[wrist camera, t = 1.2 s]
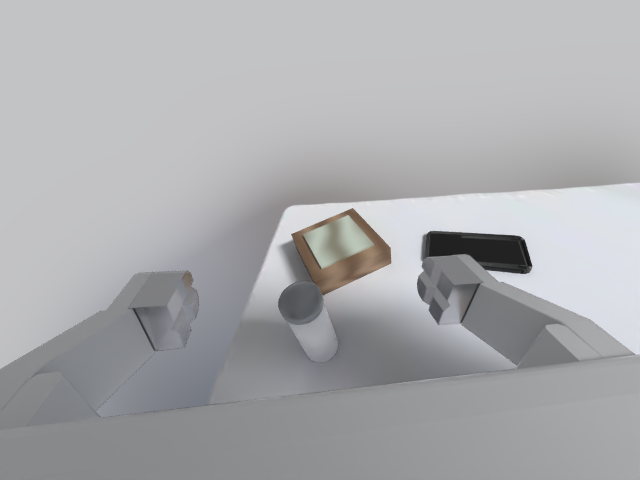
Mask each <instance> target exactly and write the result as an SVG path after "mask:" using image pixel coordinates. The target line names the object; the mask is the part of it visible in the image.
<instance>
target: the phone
mask: <svg viewBox="0 0 640 480" xmlns="http://www.w3.org/2000/svg"><path fill="white" fill-rule="evenodd" d="M461 254H466V255H469V256H471V257H472V258H473V259H474V260H475V261H476V262H477V263H478V264H479V265H481V266H482V267H483V268H484V269H485V270H491V271H501V272H511V273H520V274H527V273H529V272H530V271H531V269H532V263H531V260H530V256H529V253H528V250H527V246H526V243H525V240H524V239H523V238H522V237H520V236H514V235H496V234H478V233H461V232H443V231H430V232H428V234H427V243H426V257H439V256H452V255H461ZM426 257H425V258H426Z"/></svg>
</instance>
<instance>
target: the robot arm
mask: <svg viewBox="0 0 640 480" xmlns="http://www.w3.org/2000/svg"><path fill="white" fill-rule="evenodd" d="M422 268H423V270H424V271H423V272H422V273H421V274H420V275H419V277H418V281H417V289H418V293H419V296H420V297H421V299H422V301H424V302H425V303H427V304H429V305H430V306H429V311H430V313H431V315H432V316H433V318H434V319H435V321H436V322H437V324H438V325H445V324H461V323H462V324H461V325H462V326H464V327H465V328H467V329H468V330H469V331H471V332H472V333H473V334H475V335H476V336H477V337H479V338H480V339H482V340H483V341H484V342H486V343H487V344H488V345H490V346H491V347H492V348H494V349H495V350H497V351H498V352H499V353H501V354H502V355H503V356H505V357H506V358H507V359H509V360H510V361H512V362H513V363H514V364H516V365H517V366H516V367H515V369H511V370H503V371H494V372H486V373H477V374H469V375H460V376H452V377H443V378H435V379H426V380H418V381H409V382H401V383H392V384H384V385H376V386H367V387H358V388H350V389H341V390H333V391H324V392H316V393H307V394H298V395H290V396H281V397H273V398H264V399H255V400H247V401H238V402H230V403H221V404H213V405H204V406H196V407H187V408H178V409H170V410H163V411H154V412H145V413H136V414H127V415H119V416H110V417H103V418H102V417H100V416H99V415H98V414H97V413H96V411H97V410H98V409H99V408H100V406H102V405H103V404H104V403H105V402H106V401H107V400H108V399H109V398H110V397H111V396H112V395H113V394H114V393H115V392H116V391H117V390H118V389H119V388H120V387H121V386H122V385H123V384H124V383H125V382H126V381H127V380H128V379H129V378H130V377H131V376H132V375H133V374H134V373H135V372H136V371H137V370H138V369H139V368H140V367H141V366H142V365H143V364H144V363H145V362H146V361H147V360H148V359H149V358H150V357H151V356H152V355H153V354H154V353H155V351H162V350H171V349H179V348H185V346H186V343H187V340H188V338H189V335H190V332H191V327H190V323H191V322H192V321H193V320H195V319H196V316H197V313H198V307H199V299H198V294H197V291H196V290H195V289H194V288H192V287H191V285H192V282H193V278H192V275H191V273H190V272H189V271H166V272H146V273H137V274H135V275H134V276H133V277H132V278H131V280H130V281H129V282H128V284H127V285H126V286H125V287H124V289H123V290H122V291H121V292H120V294H119V295H118V296H117V298H116V299H115V300H114V301H113V303H112V304H111V305H110V307H109V308H108V309H107V310H106V311H99V312H98V313H96V314H94V315H93V316H91V317H89V318H87V319H86V320H84V321H82V322H81V323H79V324H77V325H75V326H74V327H72V328H70V329H68V330H67V331H65V332H63V333H62V334H60V335H58V336H56V337H55V338H53V339H52V340H50V341H48V342H46V343H45V344H43V345H41V346H40V347H38V348H36V349H34V350H33V351H31V352H29V353H27V354H26V355H24V356H22V357H20V358H19V359H17V360H15V361H13V362H12V363H10V364H8V365H7V366H5V367H3V368H2V369H0V480H640V355H635V354H634V353H633V352H631V351H630V350H629V349H628V348H626V347H625V346H624V345H622V344H621V343H620V342H619V341H617V340H616V339H615V338H613V337H612V336H611V335H609V334H608V333H607V332H606V331H604V330H603V329H602V328H600V327H599V326H598V325H596V324H595V323H594V322H593V321H591V320H590V319H587V318H585V317H583V316H580V315H578V314H576V313H573V312H571V311H569V310H566V309H564V308H562V307H560V306H557V305H555V304H553V303H550V302H548V301H546V300H543V299H541V298H539V297H536V296H534V295H532V294H530V293H527V292H525V291H523V290H520V289H518V288H516V287H513V286H511V285H509V284H506V283H504V282H498V281H497V280H496V279H495V278H494V277H493V276H491V275H490V274H489V273H488V272H487V271H486V270H485V269H484V268H483V267H482V266H481V265H479V264H478V263H477V262H476V261H475V260H474V259H473V258H472V257H471V256H469V255H466V254H461V255H452V256H439V257H426V258H425V259H424V260H423V263H422Z"/></svg>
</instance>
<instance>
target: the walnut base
mask: <svg viewBox="0 0 640 480" xmlns="http://www.w3.org/2000/svg"><path fill="white" fill-rule="evenodd" d="M291 235H292V237H293V240H294V243H295V245H296V248H297V250H298V252H299V254H300V256H301V258H302V260H303V262H304V264H305V266H306V268H307V270H308V272H309V274H310V276H311V278H312V280H313V282H314V284H316V285H317V286H318V287H319V289H320V291H321V293H322V295H325V294H327V293H329V292H331V291H333V290H335V289H337V288H340V287H342V286H344V285H346V284H348V283H350V282H352V281H354V280H357V279H359V278H361V277H363V276H365V275H367V274H369V273H372V272H374V271H376V270H378V269H380V268H382V267H384V266H387V265H389V264H391V248H390V247H389V246H388V245H387V244H386V243H385V241H384V240H383V239H382V238H381V237H380V236H379V235H378V234H377V233H376V232H375V231H374V230H373V229H372V228H371V227H370V226H369V225H368V224H367V223H366V221H365V220H364V219H363V218H362V217H361V216H360V215H359V214H358V213H357V212H356V211H355V210H354V209H353V208H352V209H350V210H347V211H345V212H343V213H340V214H338V215H336V216H333V217H331V218H328V219H326V220H324V221H321V222H319V223H317V224H314V225H312V226H310V227H307V228H305V229H303V230H300V231H298V232H295V233H293V234H291Z"/></svg>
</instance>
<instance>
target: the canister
mask: <svg viewBox="0 0 640 480" xmlns="http://www.w3.org/2000/svg"><path fill="white" fill-rule="evenodd" d="M278 307H279V310H280V312H281V314H282V316H283V317H284V319H285V320H286V321H287V322H288V324H289V326H290V327H291V329H292V331H293V332H294V334H295V336H296V337H297V339H298V341H299V343H300V344H301V346H302V348H303V349H304V351H305V353H306V354H307V356H308V357H309V359H311V360H312V361H314V362H317V363H323V362H326V361H328V360H330V359H331V358H333V357H334V355H335V354H336V352H337V349H338V340H337V337H336V334H335V331H334V329H333V326H332V323H331V320H330V318H329V315H328V312H327V309H326V307H325V304H324V299H323V296H322V293H321V291H320V289H319V287H318V286H317V285H316V284H314V283H312V282H309V281H300V282H296V283H293V284H291V285H290V286H288V287H287V288H286V289H285V290H284V291H283V292H282V294H281V296H280V298H279V301H278Z"/></svg>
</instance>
